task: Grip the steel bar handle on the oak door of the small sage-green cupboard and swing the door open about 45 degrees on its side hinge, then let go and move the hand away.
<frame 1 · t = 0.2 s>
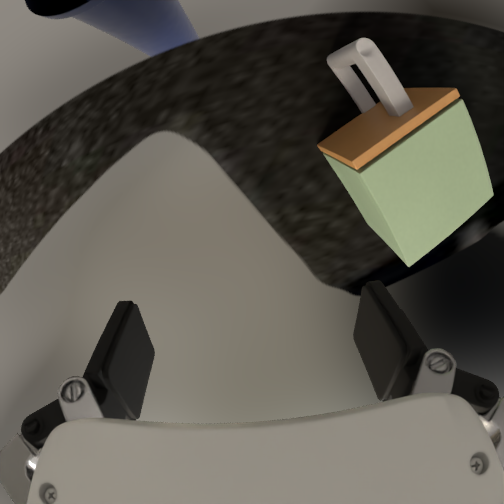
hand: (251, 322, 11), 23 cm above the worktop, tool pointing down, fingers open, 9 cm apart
door: (357, 87, 21), point 6 cm above the worktop, hinge at 0.0°
cupboard: (376, 155, 31), on the worktop
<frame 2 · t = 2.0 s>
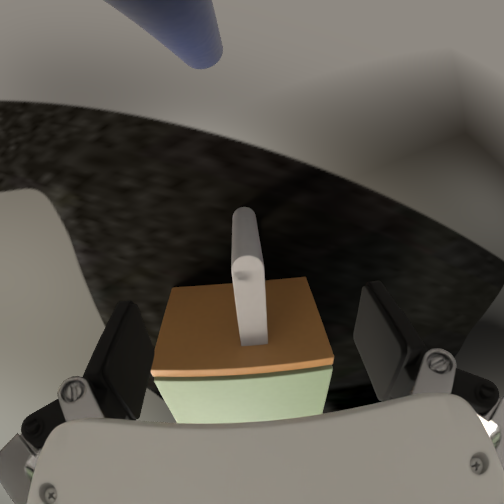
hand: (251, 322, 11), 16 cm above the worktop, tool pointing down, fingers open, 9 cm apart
door: (234, 272, 21), point 6 cm above the worktop, hinge at 0.0°
cupboard: (243, 310, 31), on the worktop
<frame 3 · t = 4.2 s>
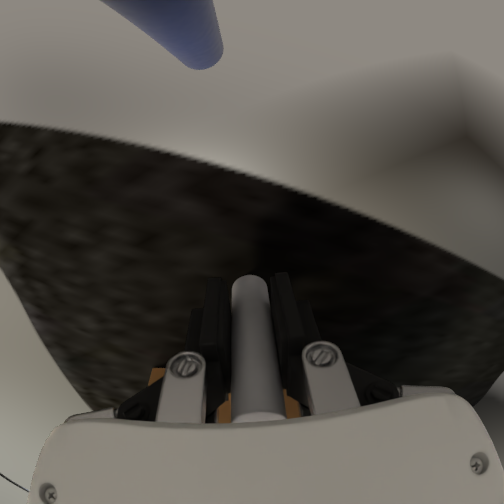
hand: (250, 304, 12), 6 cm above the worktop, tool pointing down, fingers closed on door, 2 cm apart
door: (236, 375, 13), point 6 cm above the worktop, hinge at 0.0°, touching gripper
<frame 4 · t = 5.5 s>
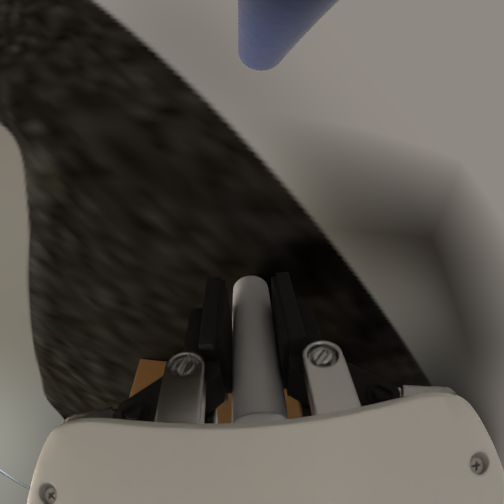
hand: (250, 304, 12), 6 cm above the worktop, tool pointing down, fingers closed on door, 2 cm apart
door: (229, 374, 13), point 7 cm above the worktop, hinge at 23.3°, touching gripper
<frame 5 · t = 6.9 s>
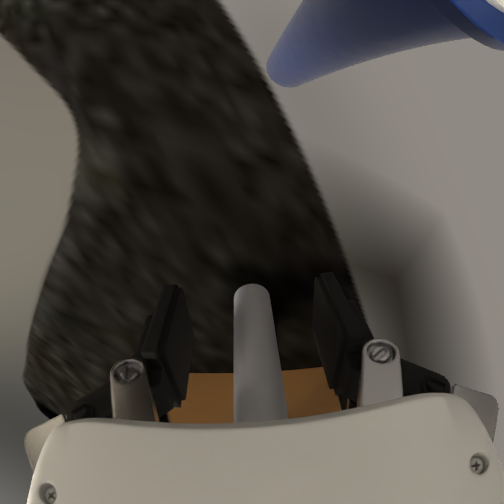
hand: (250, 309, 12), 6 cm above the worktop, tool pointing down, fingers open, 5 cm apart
door: (235, 384, 13), point 7 cm above the worktop, hinge at 42.0°
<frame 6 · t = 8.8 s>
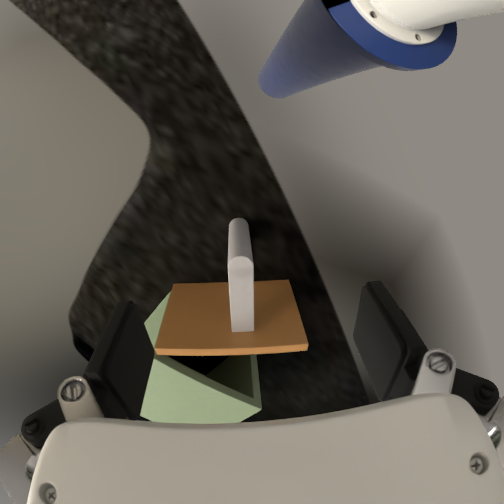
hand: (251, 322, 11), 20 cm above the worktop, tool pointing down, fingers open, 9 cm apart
door: (229, 272, 25), point 6 cm above the worktop, hinge at 42.0°
cupboard: (193, 325, 36), on the worktop
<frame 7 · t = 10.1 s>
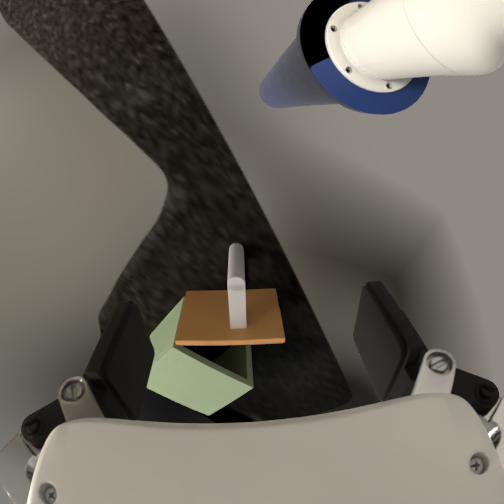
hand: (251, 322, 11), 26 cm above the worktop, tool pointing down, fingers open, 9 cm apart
door: (228, 284, 34), point 7 cm above the worktop, hinge at 42.0°
cupboard: (201, 322, 45), on the worktop
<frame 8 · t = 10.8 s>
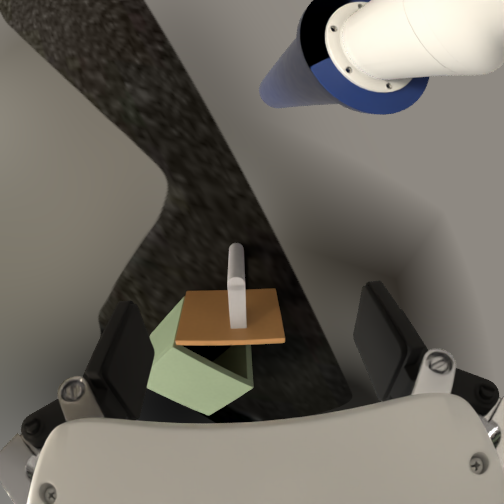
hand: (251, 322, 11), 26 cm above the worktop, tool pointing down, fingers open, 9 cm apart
door: (228, 284, 34), point 6 cm above the worktop, hinge at 42.0°
cupboard: (201, 322, 45), on the worktop
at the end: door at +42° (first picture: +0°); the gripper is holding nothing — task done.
